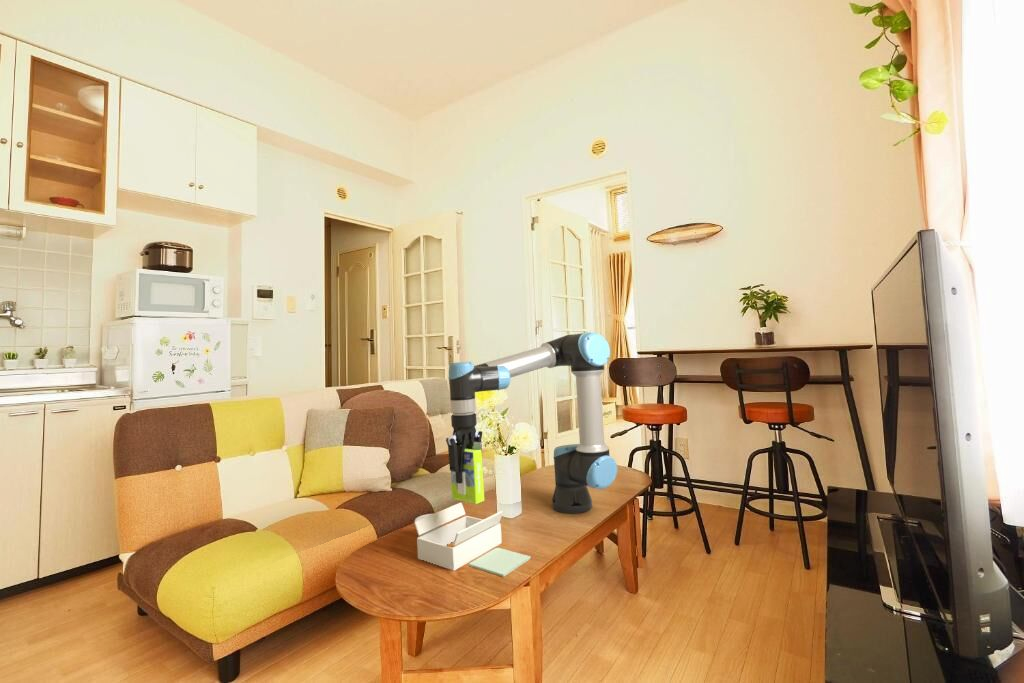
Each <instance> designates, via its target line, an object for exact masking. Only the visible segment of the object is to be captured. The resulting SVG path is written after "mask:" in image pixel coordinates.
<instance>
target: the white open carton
mask: <svg viewBox="0 0 1024 683" xmlns="http://www.w3.org/2000/svg"><path fill="white" fill-rule="evenodd" d="M482 520H484V519H482V518H479V517H474V516H468V515H463V516H461V518H460V517H459V518H457V519H456V520H455V519H454V520H452V521H450V522H448V523H446V524H445V525H442V527H440V528H438V529H436V530H434V531H431V532H429V533H427V534H425V535H423V536H421V537H419V536H418V537H417V538H416V546H417V548H416V549H417V559H418V560H421V561H423V560H424V562H426V561H427V563H429V562H430V564H432V563H433V565H435V564H436V566H438V565H439V567H441V568H445V569H447V570H450V571H453V572H454V571H456V570H457V569H460V568H462V567H463V566H465V565H466V564H469V563H471V562H472V561H474V560H476V559H478V558H479V557H481V556H483V555H484V554H486V553H488V552H490V551H491V550H493V549H495V548H496V547H497V546H500V545H501V544H502V541H503V540H502V538H503V537H502V524H501V523H500V522H499V523H497V524H496V525H494V526H492V527H490V528H488V529H486V530H484V531H482V532H480V533H478V534H476V535H474V536H472V537H470V538H469V539H467V540H465V541H463V542H461V543H459V544H457V545H455V546H453V547H452V546H448V545H450V544H452V543H454V540H455V537H456V534H457V532H459V531H462V530H464V529H466V528H468V527H470V526H472V525H474V524H476V523H478V522H480V521H482ZM451 542H452V543H451ZM447 544H448V545H447Z"/></svg>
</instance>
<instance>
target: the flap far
mask: <svg viewBox="0 0 1024 683" xmlns="http://www.w3.org/2000/svg"><path fill="white" fill-rule="evenodd" d="M431 514H432V515H430V516H427V517H425V518H423V519H420V520H418V521H415V520H414V523H413V524H414V526H415V530H416V533H417V536H418V535H421V534H423V533H425V532H427V531H429V530H432V529H434V528H436V527H438V526H440V525H442V526H444V524H445V525H446V524H448V523H450V522H452V521H455V519H456V520H457V519H459V518H460V517H463V516H466V510H465V509H464V505H463V503H462V502H459V503H456V504H454V505H451V506H449V507H447V508H444V509H442V510H440V511H438V512H435V513H431Z"/></svg>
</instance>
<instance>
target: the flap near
mask: <svg viewBox="0 0 1024 683" xmlns="http://www.w3.org/2000/svg"><path fill="white" fill-rule="evenodd" d="M503 513H504V511H503V510H501V511H499V512H496V513H494V514H492V515H490V516H488V517H486V518H484V519H483V520H482V521H480V522H478V523H476V524H474V525H472V526H470V527H468V528H466V529H464V530H462V531H459V532H457V534H456V537H455V540H454V542H452V543H453V544H452V545H453V547H455V546H457V545H459V544H461V543H462V542H464V541H466V540H468V539H470V538H472V537H473V536H474V535H476V534H478V533H480V532H482V531H484V530H486V529H488V528H490V527H492V526H494V525H496V524H497V523H500V522H501V520H502V519H501V518H502V515H503Z"/></svg>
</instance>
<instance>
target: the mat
mask: <svg viewBox="0 0 1024 683" xmlns="http://www.w3.org/2000/svg"><path fill="white" fill-rule="evenodd" d="M531 559H532V558H531V556H530V555H526V554H523V553H519V552H515V551H512V550H508V549H505V548H502V547H497V546H496V547H494V548H492V549H491V550H489V551H487V552H485V553H484V554H482V555H480V556H479V557H477V558H475V559H473V560H472V561H470V562H468V566H469V567H472V568H474V569H477V570H480V571H484V572H487V573H491V574H492V575H497V576H500V577H503V578H505V577H506V576H507V575H508V574H510V573H511V572H513V571H515V570H516V569H518V568H519V567H520V566H522V565H523V564H525V563H526V562H527V561H530V560H531Z"/></svg>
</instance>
